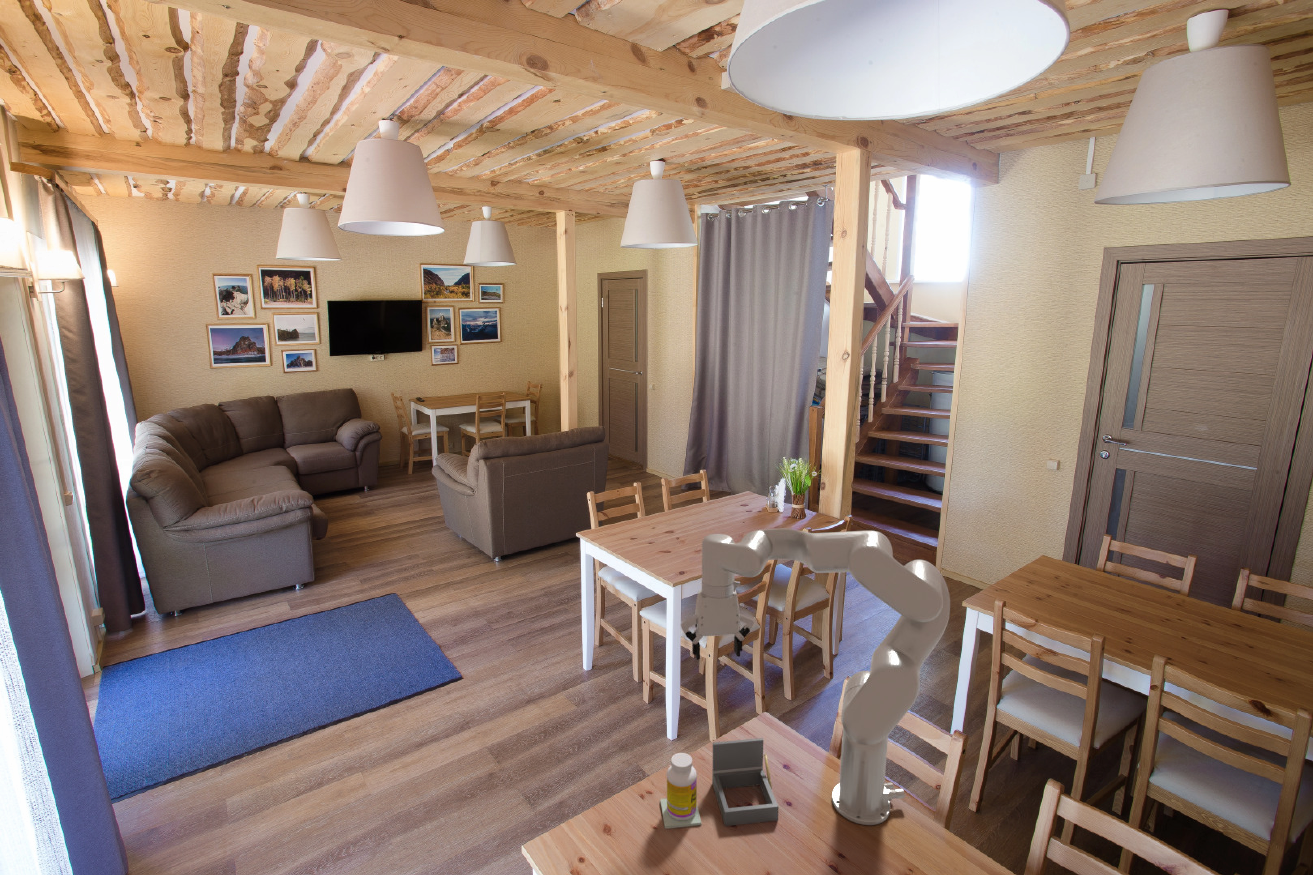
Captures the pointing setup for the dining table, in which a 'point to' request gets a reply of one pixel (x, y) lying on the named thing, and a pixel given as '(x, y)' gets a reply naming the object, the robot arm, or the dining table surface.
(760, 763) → the case
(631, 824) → the dining table surface
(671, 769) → the supplement bottle
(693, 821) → the rest pad
